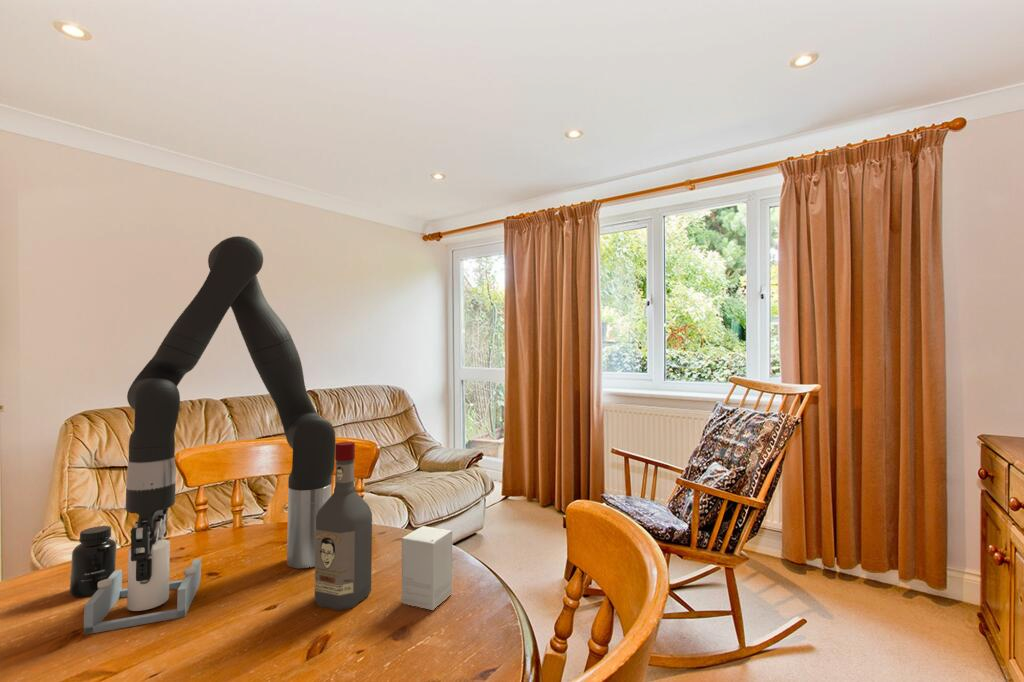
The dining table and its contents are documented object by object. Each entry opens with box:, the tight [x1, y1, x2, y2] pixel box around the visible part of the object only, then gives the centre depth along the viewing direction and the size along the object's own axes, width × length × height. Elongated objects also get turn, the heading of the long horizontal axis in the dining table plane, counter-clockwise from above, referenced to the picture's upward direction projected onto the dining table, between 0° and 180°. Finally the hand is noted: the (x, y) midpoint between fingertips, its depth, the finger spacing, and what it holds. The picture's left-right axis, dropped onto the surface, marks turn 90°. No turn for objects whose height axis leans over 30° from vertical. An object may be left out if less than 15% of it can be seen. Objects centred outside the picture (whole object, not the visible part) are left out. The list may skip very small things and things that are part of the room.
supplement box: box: [401, 525, 454, 610], centre depth 93 cm, size 7×7×13 cm
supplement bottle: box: [69, 525, 118, 598], centre depth 96 cm, size 7×7×12 cm
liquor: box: [314, 441, 373, 611], centre depth 94 cm, size 9×9×30 cm
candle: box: [126, 538, 171, 612], centre depth 90 cm, size 6×6×15 cm
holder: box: [83, 558, 202, 636], centre depth 90 cm, size 15×14×6 cm
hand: (149, 571), depth 90 cm, fingers closed on candle, 6 cm apart
